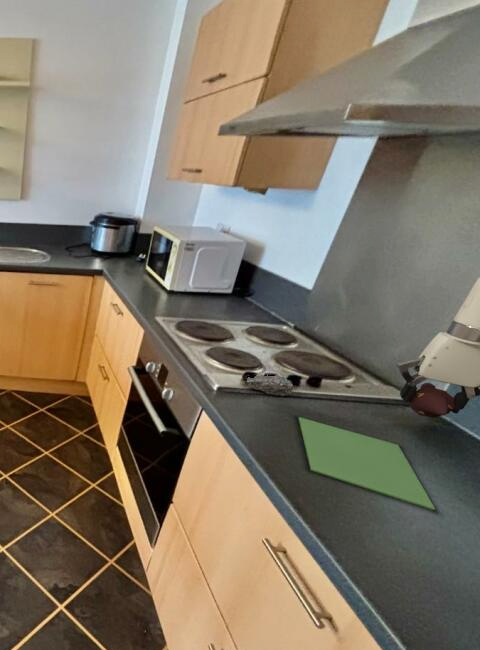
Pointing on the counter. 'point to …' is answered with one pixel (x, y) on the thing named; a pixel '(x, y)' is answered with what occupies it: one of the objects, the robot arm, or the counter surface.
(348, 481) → the cloth
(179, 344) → the counter surface
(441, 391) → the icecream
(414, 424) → the counter surface
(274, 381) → the rock
